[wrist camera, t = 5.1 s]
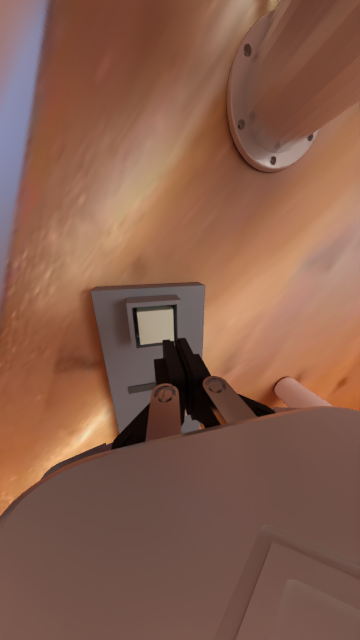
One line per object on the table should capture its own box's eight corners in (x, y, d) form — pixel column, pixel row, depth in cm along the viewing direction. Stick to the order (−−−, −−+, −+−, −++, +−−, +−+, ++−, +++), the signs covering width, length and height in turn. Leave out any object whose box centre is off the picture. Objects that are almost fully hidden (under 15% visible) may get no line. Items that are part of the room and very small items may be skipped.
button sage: (136, 305, 21) (136, 312, 18) (168, 302, 22) (173, 309, 19) (140, 334, 22) (140, 344, 20) (169, 330, 23) (174, 340, 20)
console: (96, 286, 22) (82, 296, 17) (197, 282, 25) (214, 289, 20) (125, 441, 33) (122, 479, 27) (194, 425, 36) (204, 456, 30)
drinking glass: (269, 401, 39) (341, 479, 25) (271, 378, 36) (352, 451, 22) (294, 392, 40) (376, 463, 26) (297, 369, 37) (390, 434, 24)
